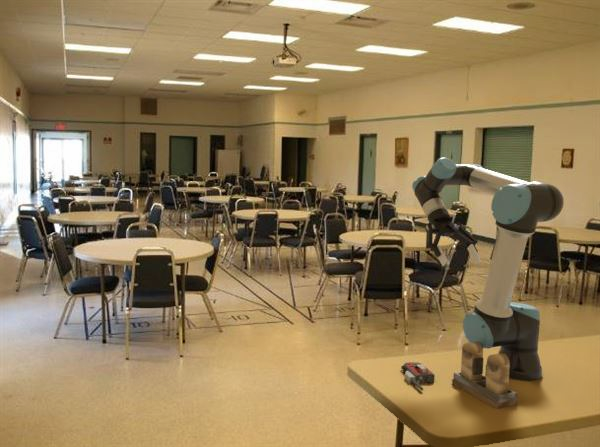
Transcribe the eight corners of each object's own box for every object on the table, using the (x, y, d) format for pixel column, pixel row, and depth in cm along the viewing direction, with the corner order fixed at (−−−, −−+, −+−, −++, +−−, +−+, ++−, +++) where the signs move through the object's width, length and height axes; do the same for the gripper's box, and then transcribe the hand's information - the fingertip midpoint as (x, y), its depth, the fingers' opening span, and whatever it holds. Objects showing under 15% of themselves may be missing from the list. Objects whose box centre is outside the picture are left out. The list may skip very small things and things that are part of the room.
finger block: (470, 378, 192) (472, 339, 191) (483, 384, 187) (485, 345, 186) (460, 379, 191) (462, 341, 189) (472, 386, 185) (474, 346, 184)
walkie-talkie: (395, 370, 203) (418, 394, 184) (395, 358, 203) (419, 379, 183) (419, 369, 205) (445, 392, 185) (420, 356, 204) (446, 378, 185)
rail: (472, 380, 195) (474, 337, 193) (517, 404, 176) (520, 357, 175) (452, 383, 191) (454, 340, 190) (495, 408, 173) (498, 360, 172)
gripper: (460, 219, 224) (485, 266, 212) (402, 221, 214) (425, 271, 202) (470, 206, 218) (497, 254, 206) (411, 207, 208) (436, 258, 196)
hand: (461, 262), depth 204 cm, fingers open, 13 cm apart
